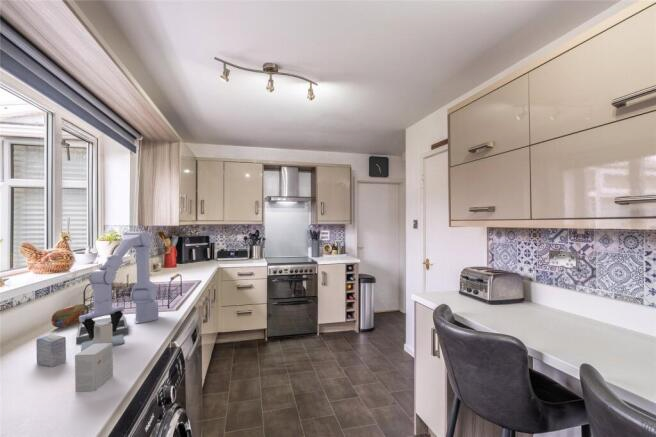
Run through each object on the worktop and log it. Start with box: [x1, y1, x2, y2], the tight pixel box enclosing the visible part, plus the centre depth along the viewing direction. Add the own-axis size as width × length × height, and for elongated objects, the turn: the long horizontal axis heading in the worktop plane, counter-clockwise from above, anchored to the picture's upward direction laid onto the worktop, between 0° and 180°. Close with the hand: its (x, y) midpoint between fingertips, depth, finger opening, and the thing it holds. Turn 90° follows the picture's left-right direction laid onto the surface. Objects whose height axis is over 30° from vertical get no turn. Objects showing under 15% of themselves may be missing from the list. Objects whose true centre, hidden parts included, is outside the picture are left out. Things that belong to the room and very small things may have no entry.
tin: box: [51, 303, 90, 329], centre depth 137 cm, size 15×3×8 cm, turn 168°
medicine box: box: [35, 334, 67, 368], centre depth 100 cm, size 8×4×9 cm, turn 71°
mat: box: [80, 334, 125, 352], centre depth 115 cm, size 13×11×1 cm
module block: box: [93, 321, 112, 344], centre depth 115 cm, size 4×6×7 cm, turn 61°
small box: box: [74, 343, 114, 393], centre depth 87 cm, size 8×6×10 cm
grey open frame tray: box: [75, 314, 129, 345], centre depth 131 cm, size 17×27×3 cm, turn 38°
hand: (103, 334), depth 115 cm, fingers open, 7 cm apart
